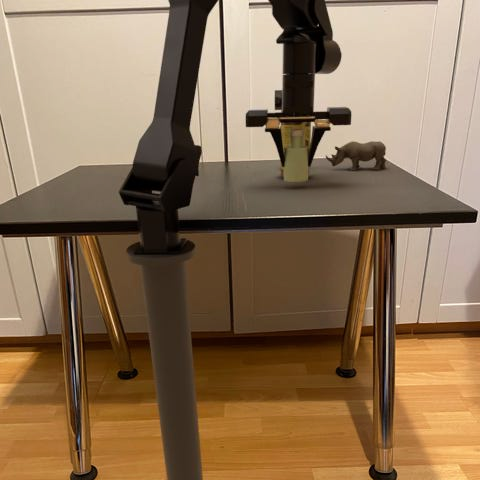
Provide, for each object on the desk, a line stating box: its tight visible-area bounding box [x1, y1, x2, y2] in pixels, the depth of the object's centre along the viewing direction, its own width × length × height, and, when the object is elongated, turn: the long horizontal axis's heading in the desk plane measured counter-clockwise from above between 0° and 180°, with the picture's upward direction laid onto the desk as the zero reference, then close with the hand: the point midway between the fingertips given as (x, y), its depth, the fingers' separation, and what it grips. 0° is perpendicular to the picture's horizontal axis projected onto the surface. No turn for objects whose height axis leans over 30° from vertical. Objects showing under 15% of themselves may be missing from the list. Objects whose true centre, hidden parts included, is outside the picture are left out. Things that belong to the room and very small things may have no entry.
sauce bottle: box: [279, 74, 312, 179], centre depth 98 cm, size 7×6×20 cm
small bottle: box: [283, 129, 309, 183], centre depth 90 cm, size 5×5×9 cm
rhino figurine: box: [325, 140, 387, 171], centre depth 108 cm, size 4×14×6 cm, turn 84°
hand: (296, 166), depth 91 cm, fingers closed on small bottle, 4 cm apart
